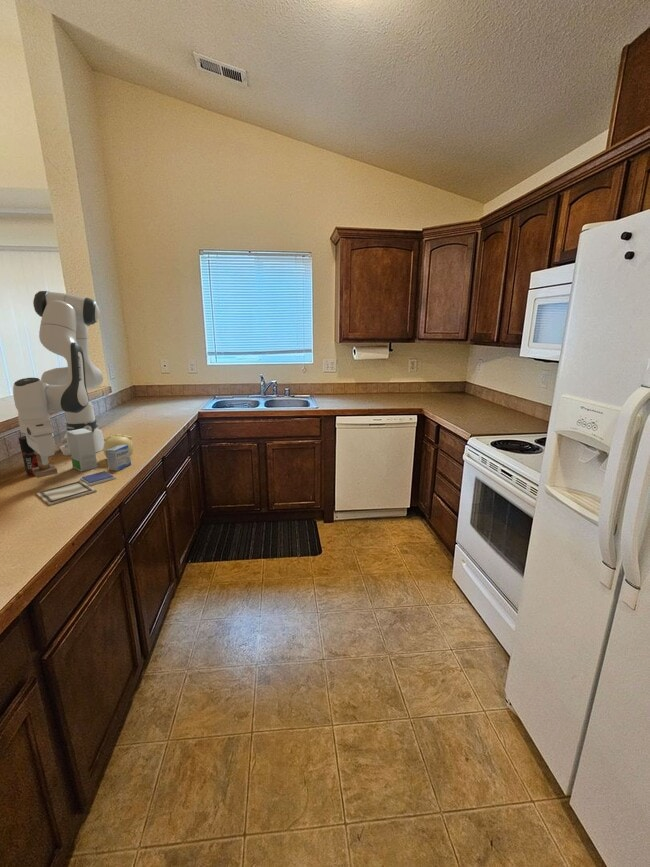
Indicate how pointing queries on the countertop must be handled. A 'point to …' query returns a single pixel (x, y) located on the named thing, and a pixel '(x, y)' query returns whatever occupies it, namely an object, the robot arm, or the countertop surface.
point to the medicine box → (118, 457)
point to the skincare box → (82, 449)
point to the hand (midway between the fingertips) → (43, 462)
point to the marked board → (65, 492)
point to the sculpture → (118, 442)
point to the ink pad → (97, 478)
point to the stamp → (43, 468)
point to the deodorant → (28, 456)
